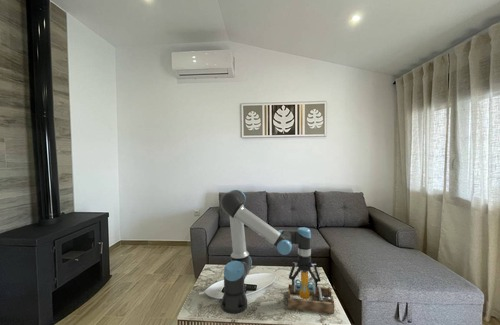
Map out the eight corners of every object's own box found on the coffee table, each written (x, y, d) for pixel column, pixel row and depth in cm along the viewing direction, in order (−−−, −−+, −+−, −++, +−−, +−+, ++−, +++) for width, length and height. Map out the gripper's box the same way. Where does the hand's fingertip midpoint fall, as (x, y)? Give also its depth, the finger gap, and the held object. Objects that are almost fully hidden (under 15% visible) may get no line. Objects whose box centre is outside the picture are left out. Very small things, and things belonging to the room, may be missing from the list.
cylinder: (299, 303, 130) (299, 277, 129) (291, 293, 140) (291, 268, 139) (318, 299, 133) (318, 274, 132) (309, 289, 143) (309, 265, 142)
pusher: (320, 309, 128) (320, 299, 128) (318, 295, 141) (318, 286, 141) (334, 311, 127) (334, 301, 127) (331, 296, 140) (331, 287, 139)
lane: (287, 307, 130) (287, 297, 130) (288, 291, 146) (288, 282, 146) (334, 313, 125) (334, 302, 125) (329, 295, 141) (329, 286, 141)
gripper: (284, 255, 134) (284, 293, 135) (325, 258, 130) (325, 297, 130) (284, 250, 142) (284, 286, 142) (324, 253, 137) (324, 289, 138)
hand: (304, 291), depth 136 cm, fingers closed on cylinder, 11 cm apart
